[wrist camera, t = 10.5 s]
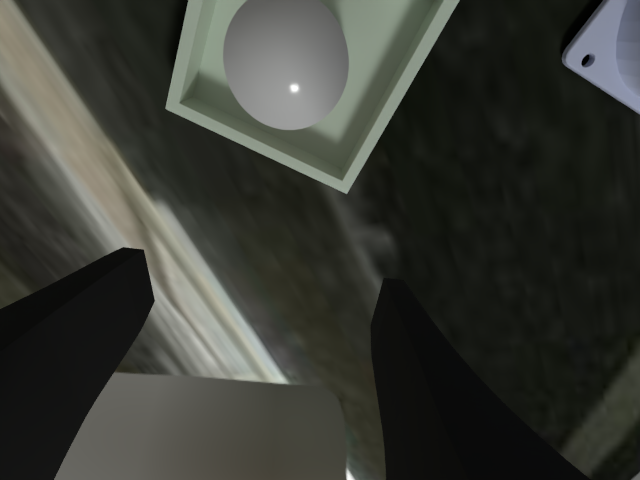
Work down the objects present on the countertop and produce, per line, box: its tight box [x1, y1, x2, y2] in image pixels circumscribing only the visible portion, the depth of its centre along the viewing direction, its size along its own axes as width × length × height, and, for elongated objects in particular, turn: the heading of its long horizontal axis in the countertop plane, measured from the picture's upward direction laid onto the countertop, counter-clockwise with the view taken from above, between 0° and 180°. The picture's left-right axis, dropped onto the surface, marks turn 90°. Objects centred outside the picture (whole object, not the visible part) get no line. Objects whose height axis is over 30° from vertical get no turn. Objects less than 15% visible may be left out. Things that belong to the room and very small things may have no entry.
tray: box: [165, 0, 459, 194], centre depth 14 cm, size 9×9×2 cm
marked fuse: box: [223, 0, 349, 130], centre depth 12 cm, size 4×4×6 cm
